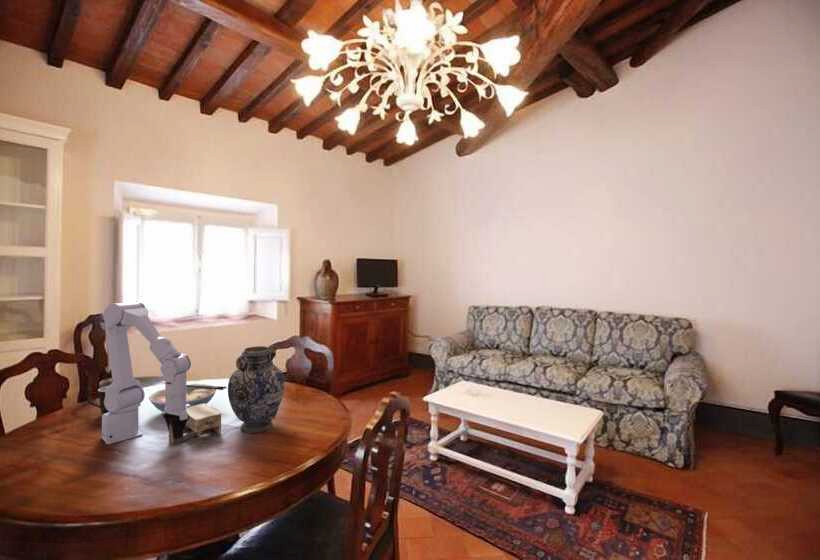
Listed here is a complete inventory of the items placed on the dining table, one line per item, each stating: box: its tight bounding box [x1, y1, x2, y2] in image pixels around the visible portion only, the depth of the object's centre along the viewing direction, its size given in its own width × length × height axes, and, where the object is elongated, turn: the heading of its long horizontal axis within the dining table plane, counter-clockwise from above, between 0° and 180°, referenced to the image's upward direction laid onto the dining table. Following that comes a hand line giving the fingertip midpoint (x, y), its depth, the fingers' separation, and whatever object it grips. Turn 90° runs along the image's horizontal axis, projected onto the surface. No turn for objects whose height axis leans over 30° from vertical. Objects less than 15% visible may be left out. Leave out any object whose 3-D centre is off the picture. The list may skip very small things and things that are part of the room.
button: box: [196, 429, 212, 439], centre depth 127 cm, size 4×4×1 cm
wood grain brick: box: [168, 424, 211, 446], centre depth 126 cm, size 12×3×6 cm, turn 149°
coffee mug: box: [86, 385, 126, 416], centre depth 144 cm, size 12×9×10 cm
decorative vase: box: [227, 344, 285, 434], centre depth 134 cm, size 21×19×28 cm
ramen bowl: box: [148, 383, 227, 413], centre depth 148 cm, size 25×23×8 cm
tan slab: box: [184, 403, 222, 435], centre depth 130 cm, size 8×15×7 cm, turn 49°
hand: (175, 436), depth 121 cm, fingers closed on wood grain brick, 3 cm apart
